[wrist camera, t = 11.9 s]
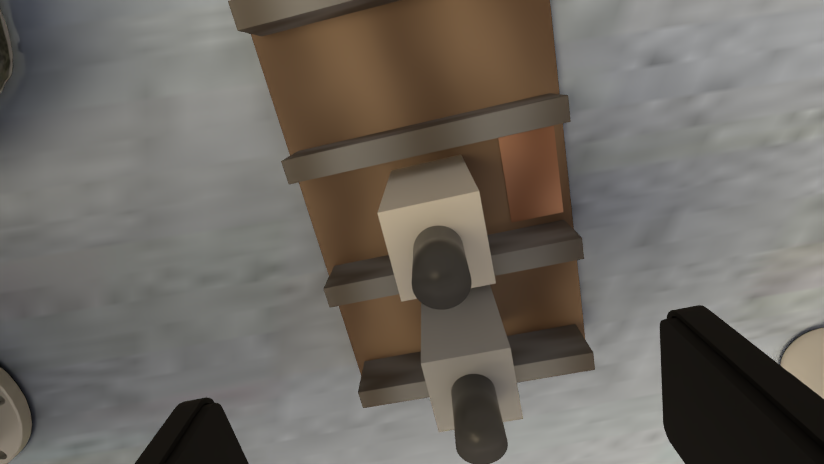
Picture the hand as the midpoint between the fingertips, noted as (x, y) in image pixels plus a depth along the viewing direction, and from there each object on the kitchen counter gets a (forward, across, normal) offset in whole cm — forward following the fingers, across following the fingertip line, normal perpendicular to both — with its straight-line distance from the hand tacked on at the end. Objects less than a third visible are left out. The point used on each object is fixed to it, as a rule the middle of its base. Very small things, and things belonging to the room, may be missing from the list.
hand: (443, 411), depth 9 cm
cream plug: (+17, 0, 0) cm, 17 cm away
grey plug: (+17, -1, +7) cm, 18 cm away
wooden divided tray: (+18, -1, 0) cm, 18 cm away
